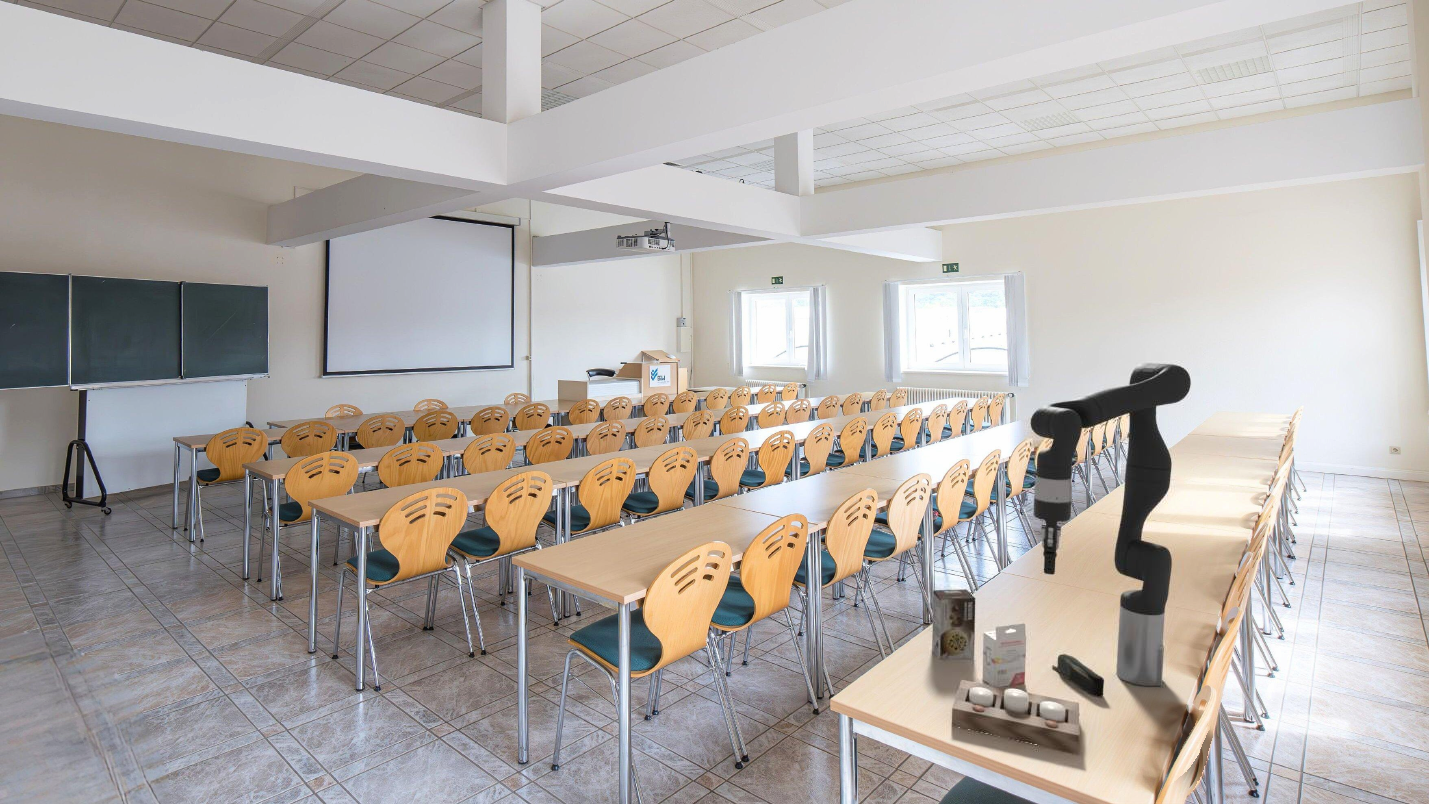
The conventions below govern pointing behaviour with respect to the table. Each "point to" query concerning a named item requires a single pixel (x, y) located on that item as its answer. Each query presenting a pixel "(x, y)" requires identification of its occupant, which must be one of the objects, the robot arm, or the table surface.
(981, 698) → the button outer
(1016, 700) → the button middle
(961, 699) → the button board
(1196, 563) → the table surface
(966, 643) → the coffee box
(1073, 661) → the dark green stapler
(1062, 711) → the button inner
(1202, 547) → the table surface
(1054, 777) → the table surface
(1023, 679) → the ink cartridge box
